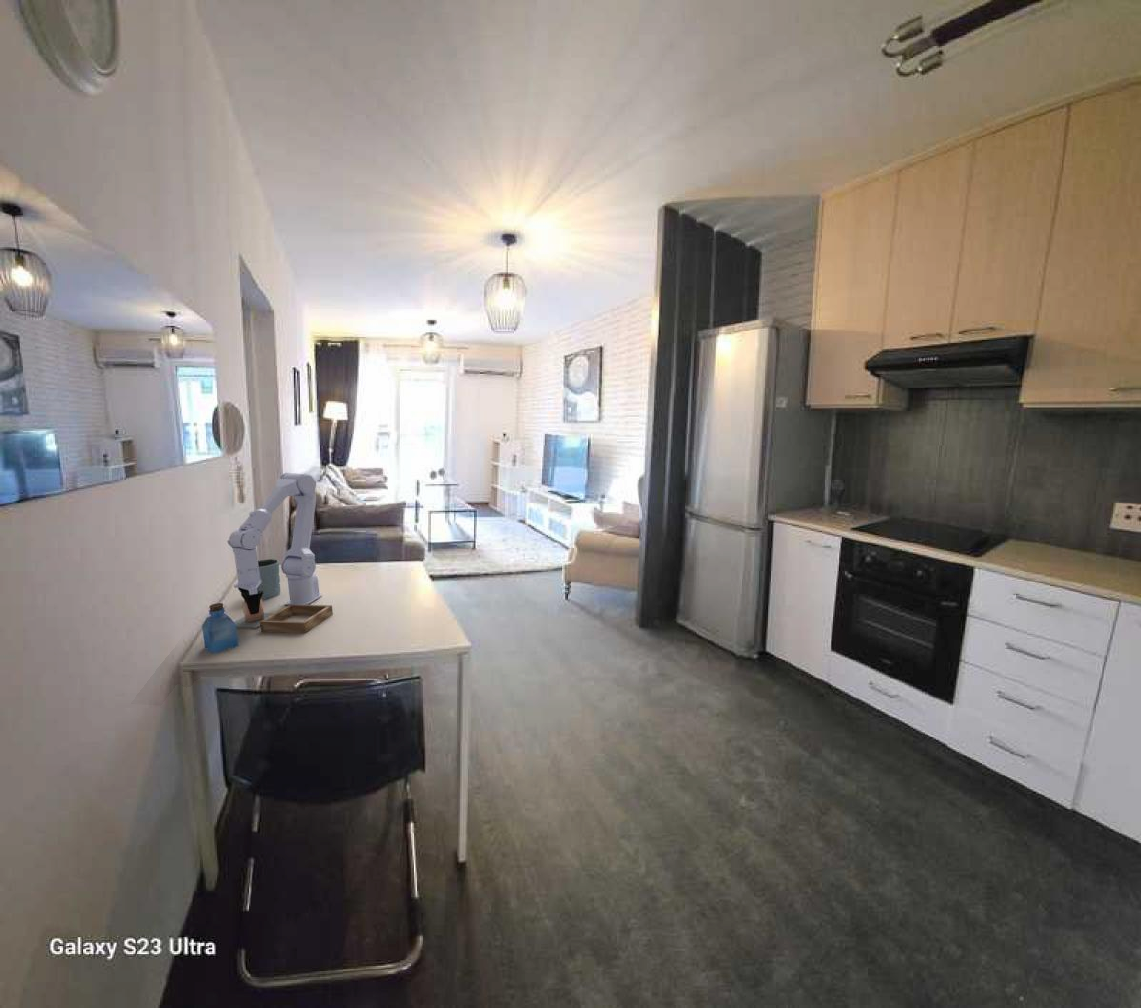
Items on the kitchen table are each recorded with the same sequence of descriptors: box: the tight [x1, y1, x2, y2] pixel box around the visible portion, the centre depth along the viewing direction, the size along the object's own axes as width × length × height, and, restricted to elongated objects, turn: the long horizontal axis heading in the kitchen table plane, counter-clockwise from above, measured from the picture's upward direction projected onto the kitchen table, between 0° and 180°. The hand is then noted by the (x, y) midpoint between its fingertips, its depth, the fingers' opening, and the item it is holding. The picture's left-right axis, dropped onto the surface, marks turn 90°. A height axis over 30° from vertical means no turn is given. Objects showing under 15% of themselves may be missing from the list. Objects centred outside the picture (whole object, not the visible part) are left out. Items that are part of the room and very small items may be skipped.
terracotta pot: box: [241, 599, 265, 622], centre depth 154 cm, size 5×5×6 cm
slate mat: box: [233, 612, 275, 630], centre depth 154 cm, size 11×10×1 cm
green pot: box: [257, 558, 281, 600], centre depth 176 cm, size 10×10×12 cm
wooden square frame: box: [259, 604, 334, 634], centre depth 153 cm, size 14×14×3 cm
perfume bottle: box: [201, 602, 239, 654], centre depth 136 cm, size 6×6×12 cm
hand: (253, 610), depth 154 cm, fingers open, 6 cm apart
